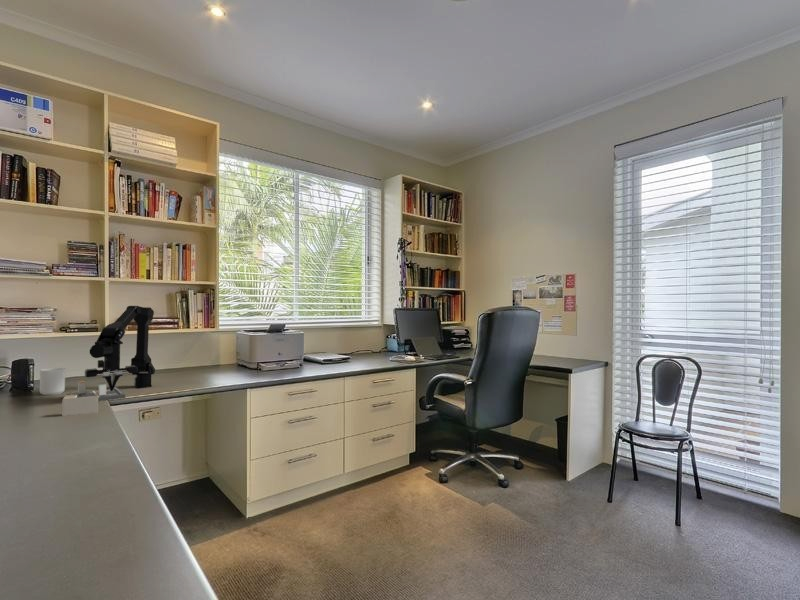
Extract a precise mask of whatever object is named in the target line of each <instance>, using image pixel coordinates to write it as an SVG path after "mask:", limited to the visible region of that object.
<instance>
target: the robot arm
mask: <svg viewBox="0 0 800 600" xmlns="http://www.w3.org/2000/svg"><path fill="white" fill-rule="evenodd" d="M154 314H155V311H154V310H153V308H151V307H149V306H147V307H145V306H144V307H143V306H139V305H128V306H126V309H125V310H124V312H122V313H121V315H120V316H119V317H117V319H116V320H115V321H114V322H112V323H109V324H107V325H105V327H103V328H102V330H101V331H100V334H99V336H98V338H97V340H96V341H95V342H94V344H93V345H92V346H91V347H90V349H89V355H90V356H91V357H92V358H95V359H98V360H97V368H98V369H97V368H86V369H85V370H84V377H85V378H94V377H97V376H98V375H100V377H101V378H103V379H105V381H106V382H107V383H106V384H107V385H108V389H110V391H113V389H114V387H115V386H116V384H117V382H118V380H119V379H120V377H122V376H123V373H129V374H131V375H132V376H134V375H135V377H134V378H133V384H134V385H133V386H134V387H135V388H136V389H141V388H149V387H150V388H151V387H153V385H152V375H154V374H155V373H156V368H155V366H154V365H153V363H152V358H151V356H150V355H149V351H148V350H149V332H150V331H149V328H150V327H149V326H150V324H151V323H152V321H153V320H154ZM132 321H134V322H135V324H136V345H135V346H136V349H135V351H136V352H135V355H134V357H132V358H131V359H130V365H125V367H121V345H123V344H124V343H123V341H121V340H122V338H123V337H124V336H125V334H126V328H127V327H128V326H129V324H130V323H132ZM100 358H103V359H100ZM99 359H100V360H99ZM111 374H112V375H111Z"/></svg>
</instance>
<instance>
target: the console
mask: <svg viewBox="0 0 800 600" xmlns="http://www.w3.org/2000/svg"><path fill="white" fill-rule="evenodd" d="M97 393H98V389H95V390H88V391H87V390H86V393H80V394H79V393H78V391H77V392H72V391H69V392H68V393H65V396H67V395H77V397H76V398H80V397H93V396H95V395H96V394H97ZM97 396H98V402H102V401H101V400H103V401H108V400H107V399H111V400H115V399H116V400H117V399H125V398H126V394H125V393H124V392H123V391H122V390H121V389H119V387H114V389H113V391H110V388H106V395H97Z"/></svg>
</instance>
